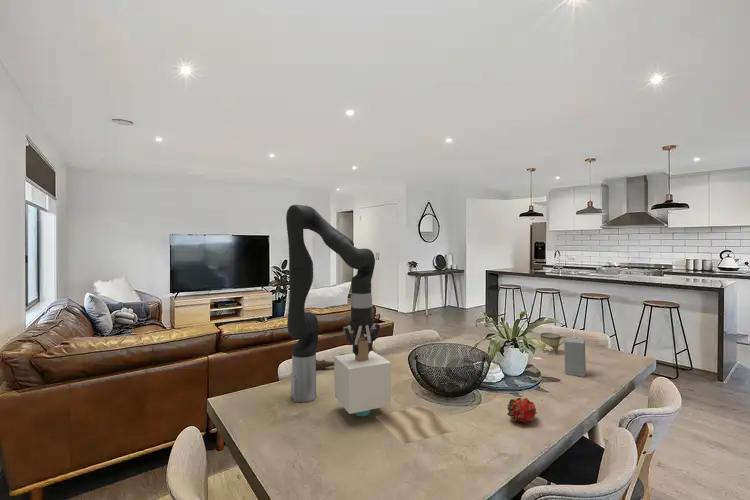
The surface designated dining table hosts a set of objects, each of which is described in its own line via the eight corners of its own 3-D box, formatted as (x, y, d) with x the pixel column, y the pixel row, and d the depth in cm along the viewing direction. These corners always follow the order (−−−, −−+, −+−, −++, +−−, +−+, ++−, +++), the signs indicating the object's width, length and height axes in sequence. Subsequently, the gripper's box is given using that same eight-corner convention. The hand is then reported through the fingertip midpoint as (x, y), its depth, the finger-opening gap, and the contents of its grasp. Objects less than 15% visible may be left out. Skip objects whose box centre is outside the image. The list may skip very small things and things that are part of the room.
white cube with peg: (349, 413, 123) (349, 347, 123) (334, 396, 137) (334, 337, 137) (390, 405, 130) (390, 342, 129) (372, 389, 144) (372, 332, 143)
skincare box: (585, 373, 174) (586, 339, 174) (584, 378, 168) (585, 342, 167) (565, 370, 178) (565, 336, 178) (563, 374, 172) (564, 340, 172)
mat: (402, 446, 113) (402, 444, 113) (374, 417, 131) (374, 416, 131) (457, 431, 121) (457, 430, 121) (423, 407, 140) (423, 405, 140)
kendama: (314, 367, 186) (355, 365, 187) (313, 374, 176) (355, 372, 178) (314, 355, 185) (354, 353, 187) (312, 362, 176) (355, 359, 177)
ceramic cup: (543, 355, 201) (543, 336, 201) (538, 349, 211) (538, 332, 211) (569, 356, 199) (569, 337, 199) (562, 350, 209) (563, 333, 209)
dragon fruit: (505, 428, 127) (531, 425, 132) (523, 422, 121) (549, 419, 126) (497, 402, 131) (522, 400, 137) (514, 394, 125) (539, 393, 131)
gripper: (346, 308, 126) (346, 359, 127) (384, 305, 132) (384, 354, 133) (338, 305, 133) (339, 353, 134) (375, 302, 139) (375, 348, 139)
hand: (361, 353), depth 133 cm, fingers closed on white cube with peg, 3 cm apart
